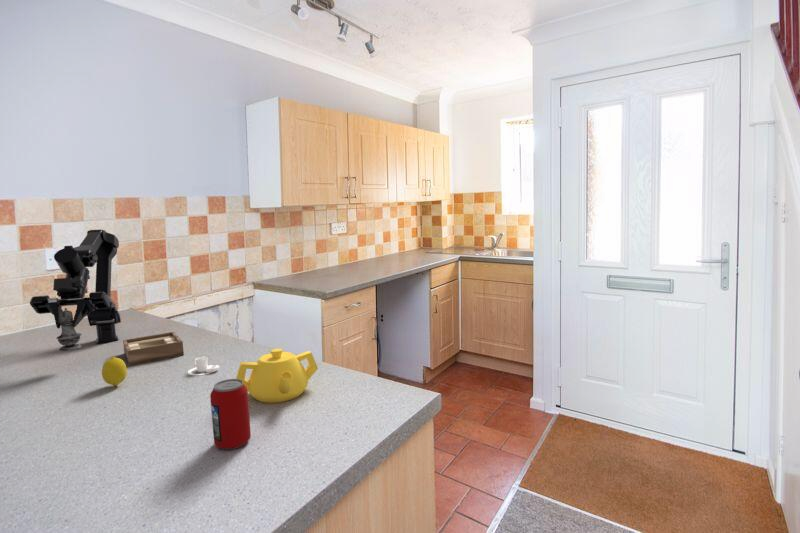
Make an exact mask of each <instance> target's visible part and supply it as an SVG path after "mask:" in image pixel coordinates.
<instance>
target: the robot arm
mask: <svg viewBox="0 0 800 533" xmlns="http://www.w3.org/2000/svg"><path fill="white" fill-rule="evenodd" d="M119 247H120V242H119V239H118V237H117V236H116V235H115V234H112V233H109V232H107V231H106V230H105V229H90V230H87V233H86V236H85V237H84V238H83V240H82V241H81V243H80V244H79V245H78V246H75V247H74V246H73V245H64V247H63V248H61V249H59V250H58V251H56V253H54V255H53V258H54V261H55V263H56V264H57V265H58V267H59V269H60V271H61V272H62V273H63V274H65V277H63V278H62V277H61V278H54V279H53V291H56V296H57V297H51V298H50V296H49V295H36V296H32V297H30V300H29V305H30V306H31V307H32V309H33V310H34V312H36V314H39V315H44V314H51V315H53V317H54V321H55V325H56V326H55V327H56V328H57V329H60V328H61V325H60V324H61V317H60V314H61V312H63V311H64V310H63V309H62V308H63V307H71V306H72V307H74V306H76V309H75V313H74V315H73V327H74V328H75V327H77V326H78V325H79V324H80V323H81V321H82V320H83V319H84V318H85V317H87V320H88V324H89V326H90V327H93V326H95V328H96V329H95V330H96V336H97V337H96V338H95V341H96V344H102V343H103V344H104V343H108V342H114V341H119V337H118V335H117V331H116V325H117V324H119V323H121V322H122V318H121V314H120V312H119V311H118V310H119V309H118V308H117V306H116V303H115V302H114V300H113V299H112V298H111V297H112V296H111V293H112V292H111V290H112V262H113V261H112V260H113V259H114V258H115V256H116V255H117V253H118V248H119ZM94 266H96V270H95V271H96V272H95V288H94V290H95V291H94V292H89V294H88V297H85V295H86V294H87V293H88V289H87V288H88V287H87V285H88V281H89V280H90V278H91V276H90V270H89V269H88V268H93V267H94ZM58 297H59V298H58Z"/></svg>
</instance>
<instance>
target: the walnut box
mask: <svg viewBox="0 0 800 533" xmlns="http://www.w3.org/2000/svg"><path fill="white" fill-rule="evenodd" d="M183 342H184V341H183V340H182V339H181V338H180V337H179V336H178V335H177V334H176V332H175V331H171V332H165V333H158V334H157V333H156V334H153V335H147V336H139V337H136V338H129V339H127V338H126V339H123V340H122V343H123V352H124V356H125V358H126V361H127V363H128V366H130V367H131V366H135V365H139V364H145V363H149V362H156V361H160V360H161V361H162V360H165V359H170V358H176V357H177V358H178V357H180V356H184V343H183Z"/></svg>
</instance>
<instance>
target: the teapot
mask: <svg viewBox="0 0 800 533" xmlns="http://www.w3.org/2000/svg"><path fill="white" fill-rule="evenodd" d="M269 352H270V353H266V354H263V355H261V356H260V357H259V358H258V360H257V361H256V362H254V361H252V362H251V361H250V362H249V361H241V362H240V363H239V366H238V371H237V374H236V377H235V379H240V380H242V381H243V384H244V385H245V386H246V388H247V391H248V393H249V394H250V395H251V396H252V397H253V398H254V399H255V400H256V401H258V402H261V403H268V404H271V403H272V404H274V403H275V404H276V403H282V402H286V401H291V400H294V399H296V398H297V397H299V396H301V395H302V393H303V392H304V391H305V390H307V389H306V388H307V387H308V384H309V380H310V379H311V377H312V376H313V375H314V374H315V373H316V372H317V370H319V367H318V365H317V362H316V360H315V358H314V355H313V354H312V352H311V350H308V351H304V352H301V353H299V354H296V355H295V354H294V353H292V352H291V351H283V349H282V348H273V349H272V350H269ZM304 360H306V361H307V363H308V366H307V367H306V368H305V367H304V365H303V364H302V362H301V361H304ZM247 369H249V370H251V373H250V376H249V379H247V378H246V373H247Z"/></svg>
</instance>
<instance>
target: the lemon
mask: <svg viewBox="0 0 800 533" xmlns="http://www.w3.org/2000/svg"><path fill="white" fill-rule="evenodd" d="M127 373H128V369H127V365H126V362H125V361H124V360H123V359H121V358H118V357H116V356H111V357H110V358H109V359H106V360H105V361H104V363H103V365H102V369H101V377H102V379H103V381H104V383H106V384H108V385H110V386H114V387H118V386H119V384H120V383H123V381H124V380H126V378H127Z"/></svg>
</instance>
